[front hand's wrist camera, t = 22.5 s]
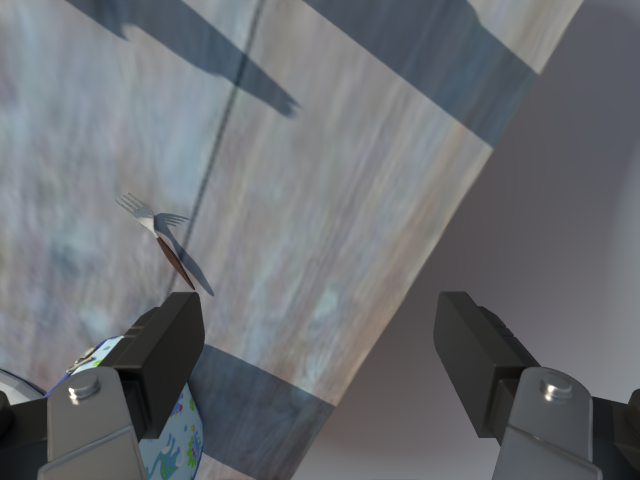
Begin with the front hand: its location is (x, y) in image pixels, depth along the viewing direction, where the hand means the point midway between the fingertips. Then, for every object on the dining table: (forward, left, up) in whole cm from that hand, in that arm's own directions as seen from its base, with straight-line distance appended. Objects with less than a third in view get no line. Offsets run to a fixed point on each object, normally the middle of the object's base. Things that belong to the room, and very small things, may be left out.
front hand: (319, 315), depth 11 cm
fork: (+24, 0, -34) cm, 42 cm away
